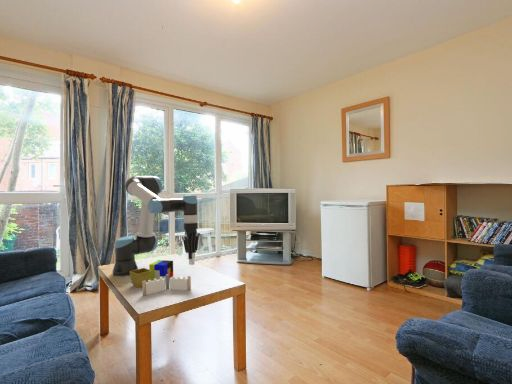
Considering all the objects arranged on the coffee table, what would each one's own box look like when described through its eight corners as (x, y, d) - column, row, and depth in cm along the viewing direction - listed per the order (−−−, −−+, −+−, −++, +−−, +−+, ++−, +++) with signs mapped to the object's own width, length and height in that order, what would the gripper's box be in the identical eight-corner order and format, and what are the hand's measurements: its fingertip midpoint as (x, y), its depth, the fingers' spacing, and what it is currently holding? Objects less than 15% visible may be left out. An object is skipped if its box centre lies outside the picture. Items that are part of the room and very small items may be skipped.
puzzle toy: (164, 282, 160) (164, 265, 160) (149, 281, 162) (149, 264, 162) (173, 276, 170) (173, 260, 170) (158, 275, 172) (158, 260, 172)
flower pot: (144, 282, 159) (144, 267, 159) (152, 286, 154) (151, 270, 154) (129, 287, 153) (129, 271, 152) (137, 290, 147) (136, 274, 147)
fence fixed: (168, 288, 148) (168, 274, 148) (170, 289, 147) (169, 274, 147) (142, 295, 139) (141, 280, 139) (143, 296, 138) (142, 280, 137)
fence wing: (169, 289, 146) (169, 276, 146) (171, 288, 147) (170, 275, 147) (190, 290, 144) (189, 277, 144) (191, 289, 146) (191, 276, 145)
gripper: (193, 220, 159) (194, 260, 159) (177, 223, 147) (178, 266, 148) (203, 221, 156) (204, 262, 156) (188, 224, 144) (189, 268, 144)
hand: (191, 264), depth 152 cm, fingers closed
